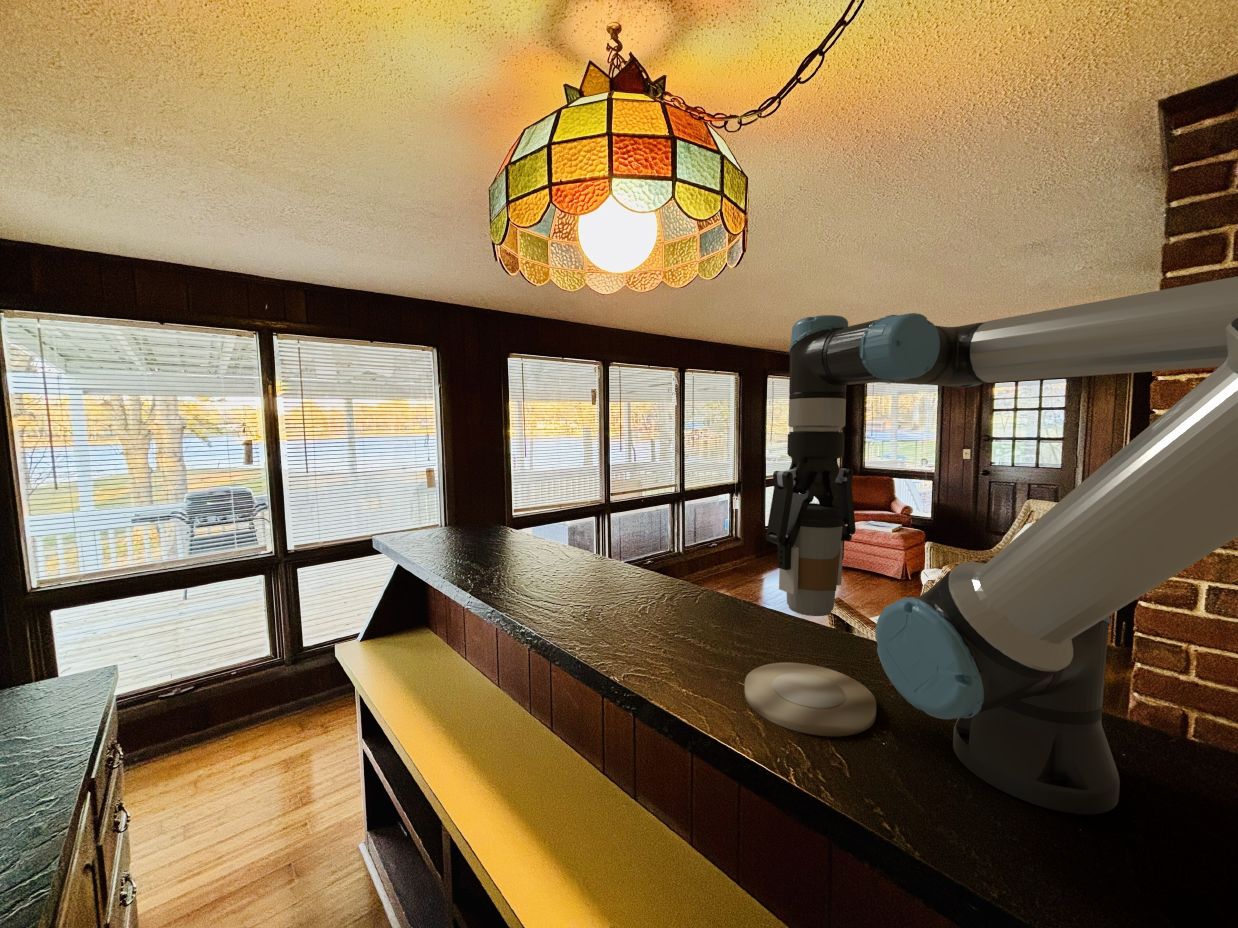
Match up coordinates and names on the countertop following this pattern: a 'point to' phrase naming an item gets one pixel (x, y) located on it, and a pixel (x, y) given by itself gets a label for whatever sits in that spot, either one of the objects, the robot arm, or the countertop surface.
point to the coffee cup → (817, 560)
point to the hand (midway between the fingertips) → (810, 586)
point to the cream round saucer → (810, 699)
